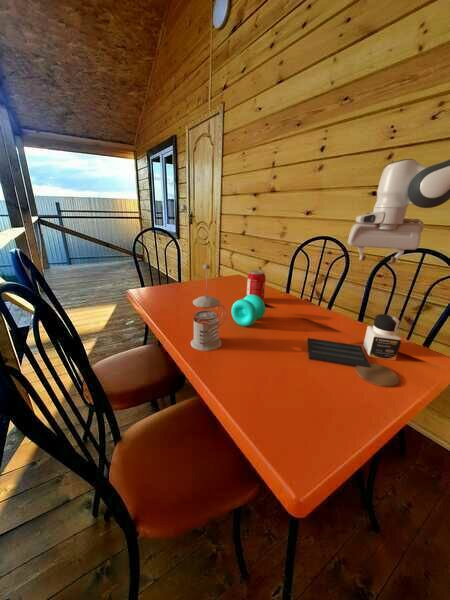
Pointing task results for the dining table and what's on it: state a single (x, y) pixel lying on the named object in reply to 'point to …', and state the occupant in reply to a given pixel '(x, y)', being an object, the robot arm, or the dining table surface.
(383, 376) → the coaster
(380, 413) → the dining table surface
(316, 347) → the scrub mat
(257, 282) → the soda can
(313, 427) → the dining table surface
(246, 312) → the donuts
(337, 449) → the dining table surface
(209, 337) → the french press
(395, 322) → the medicine bottle
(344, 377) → the dining table surface
